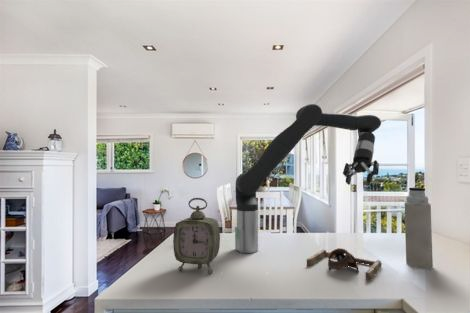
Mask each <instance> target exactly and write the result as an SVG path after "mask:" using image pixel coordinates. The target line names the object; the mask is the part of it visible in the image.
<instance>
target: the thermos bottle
mask: <svg viewBox="0 0 470 313" xmlns="http://www.w3.org/2000/svg"><path fill="white" fill-rule="evenodd" d="M408 190H409V191H408V195H407V196H406V199H405V200H406V201H405V202H404V203H403V204H404V227H405V229H404V233H405V262H406V263H405V264H406V265H408V266H409V267H412V268H414V267H415V268H414V269H421V270H431V269H433V268H434V265H433V264H434V259H433V234H432V232H433V231H432V207H431V206H432V205H431V203H429V200H430V199H429V197H428V196H426V192H425V191H426V188H424V187H409V188H408Z"/></svg>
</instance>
